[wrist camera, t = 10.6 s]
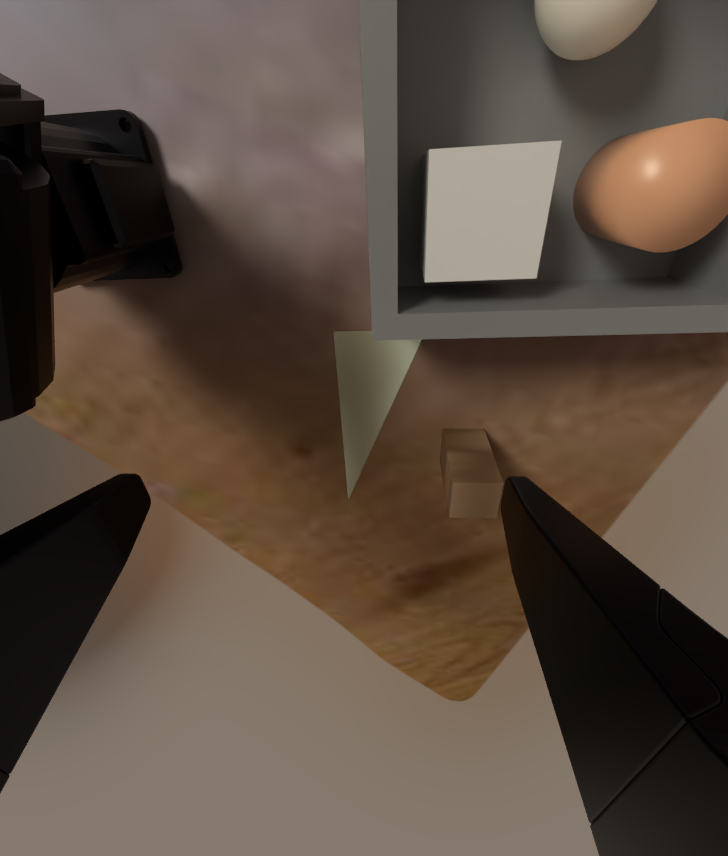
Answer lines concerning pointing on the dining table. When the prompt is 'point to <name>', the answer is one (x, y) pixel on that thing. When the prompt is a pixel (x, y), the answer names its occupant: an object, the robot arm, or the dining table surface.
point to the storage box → (545, 167)
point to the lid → (367, 410)
